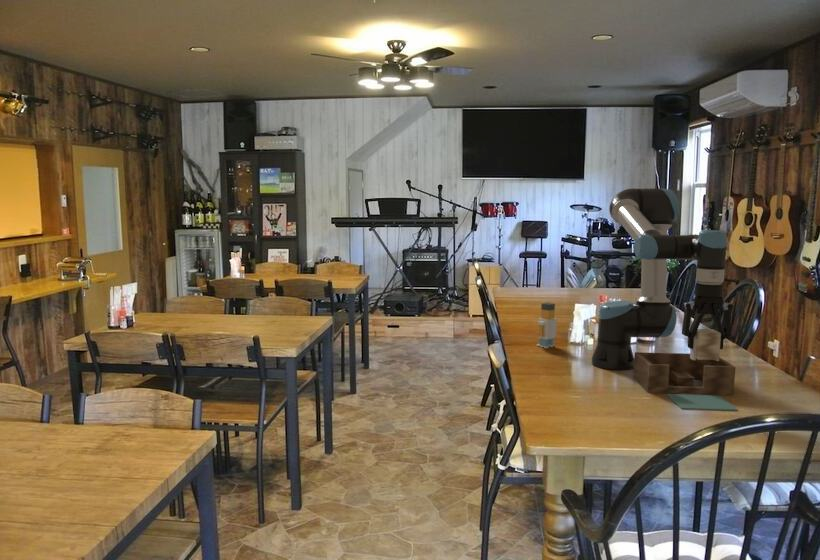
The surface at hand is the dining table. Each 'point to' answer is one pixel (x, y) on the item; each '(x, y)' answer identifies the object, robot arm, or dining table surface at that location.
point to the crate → (683, 374)
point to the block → (708, 344)
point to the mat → (701, 402)
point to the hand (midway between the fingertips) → (704, 359)
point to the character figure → (547, 325)
